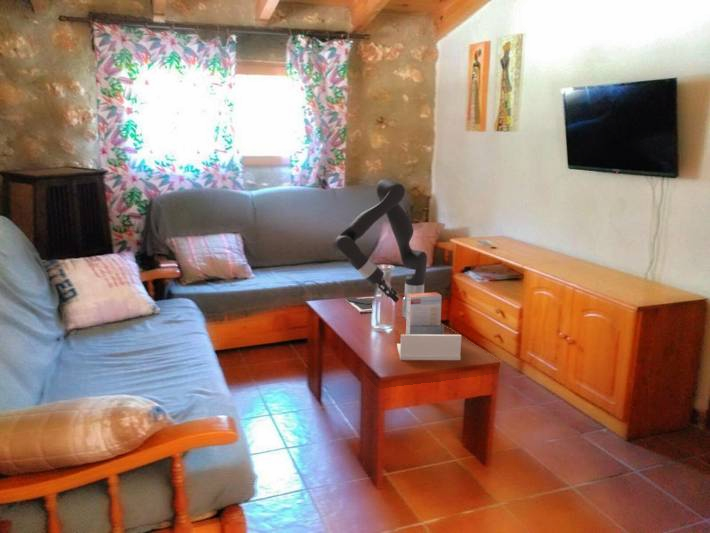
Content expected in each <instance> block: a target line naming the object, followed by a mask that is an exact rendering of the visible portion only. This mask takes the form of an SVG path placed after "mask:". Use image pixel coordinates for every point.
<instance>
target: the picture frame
mask: <svg viewBox="0 0 710 533" xmlns="http://www.w3.org/2000/svg"><path fill="white" fill-rule="evenodd" d="M372 298H375V297H374V296H364V297H354V296H352V297H345V298H344V300H346V301H347V302H349V303H350V304H351V305H352V306H353V307H355V308H356V309H357V310H358V311H359V312H365V311H371V310H372V301H373V300H372ZM366 299H371V300H366Z"/></svg>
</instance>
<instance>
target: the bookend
mask: <svg viewBox="0 0 710 533" xmlns="http://www.w3.org/2000/svg"><path fill="white" fill-rule="evenodd" d="M410 334H441V335H445V326H444V325H441V324H440V325H410Z"/></svg>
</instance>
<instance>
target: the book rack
mask: <svg viewBox="0 0 710 533" xmlns="http://www.w3.org/2000/svg"><path fill="white" fill-rule="evenodd" d="M396 348H397V352H398V356H399V360H400V361H461V351H462V350H461V348H462V335H461V334H444V335H441V334H406V333H405V334H404V333H403V334H400V343H396Z"/></svg>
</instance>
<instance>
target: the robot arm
mask: <svg viewBox="0 0 710 533" xmlns="http://www.w3.org/2000/svg"><path fill="white" fill-rule="evenodd" d="M376 194H377V197H378V200H379V203H377V204H376V205H374V206H373V207H369V209H366V210H365V211H363V212H361V213H360V214H359V215H358V216H357V217H356V218H354V219H353V221H352V222H350V224H349V226H347V228H346V229H345V230H343V231H342V232H341V233H339V235H338V236H337V237H336V238H335V239H334V241H333V244H332V247H333V249H334V251H335V252H337V253H338V254H343V255H344V256H346V258H347V259H348V263H350V265H351V266H352V267H354V269H355V270H356V271H357V272H358V273H359V274H360V276H361V277H362V278H364V280H366V281H367V282H368V284H370V286H374V285H377V287H378V289H380V290H381V291H382V292H383V293H384V294H385V296H386V297H388V298H390V299H391V300H392V301H393V302H394V303H397V302H398V301H399V300H400V299H399V297H398V296H397V295H398V293H397V291H396V290H395V289H394V288H393V287H392V285H391V283H389V281H387V280H386V278H384V275H385V272H384V271H383V270H382V269H381V268H380V267H379V266H378V265H377V264H376V263H375V262H374V261H373V260H371V259H370V258H369V257H368V256H367V255H366V254H365V253H364V252H363V251H362V250H361V249H360V247H359V246H358V244H357V243H356V241H357V240H358V239H360V238H361V237H363V236H364V235H365V233H367V231H368V230H369V229H370V228H371V227H372V226H373V225H374V224H375V223H376V222H377V221H379V220H380V218H383V216H385V215H386V216H387V219H388V222H389V224H390V228H391V231H392V233H393V235H394V238H395V241H396V243H397V247H398V250H399V253H400V258H401V262H402V265H403V267H405V269H409V270H414V274H411V275H407V276H405V279H404V297H403V298H402V305H401V306H402V308H401V309H402V311H401V312H402V313H401V317H403V319H406V315H407V294H416V293H425V281H426V274H427V265H428V255H427V253H426V252H425V251H422V250H415V249H412V248H411V246H410V241H411V239H412V237H413V235H414V227H413V224H412V221H411V218H410V217H409V215H408V213H407V212H406V211H405V210H404V208H403V206H401V205H400V202H401V201H402V200H403V199H404V197H405V194H406V190H405V186H404V185H402V183H399V182H396V181H394V180H391V179H387V178H385V179H384V178H383V179H381V180H379V182H378V183H377V185H376Z"/></svg>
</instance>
